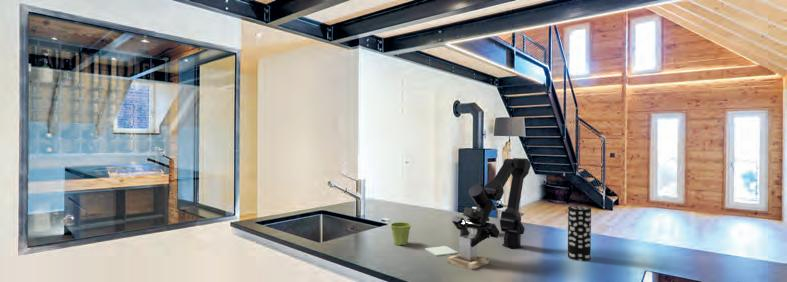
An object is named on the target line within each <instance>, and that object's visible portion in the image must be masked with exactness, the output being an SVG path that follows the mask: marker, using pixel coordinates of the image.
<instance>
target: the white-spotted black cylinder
mask: <svg viewBox="0 0 787 282" xmlns="http://www.w3.org/2000/svg"><path fill="white" fill-rule="evenodd" d="M591 236H592V208H591V207H588V206H583V205H582V206H580V205H570V206H568V208H567V258H568V259H570V260H573V261H580V262H589V261H591V253H592V252H591V251H592V249H591V248H592V247H591V245H592V244H591V243H592V242H591V241H592V239H591V238H592V237H591Z"/></svg>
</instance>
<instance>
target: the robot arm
mask: <svg viewBox="0 0 787 282" xmlns="http://www.w3.org/2000/svg"><path fill="white" fill-rule="evenodd" d="M531 164H532V163H531V161H530V160H529V159H528V158H524V157H522V158H521V157H513V158H505V159H504V160H503V163H502V166H501V167H500V169H499V170H498V171H497V173H496V175H495V177H494V178H493V179H492V180H490V181H489V182H487V183H486V184H485V185H483V183H481V182H477V183H476V185H473V186H472V187H471V186H470V188H469V189H468V195H469V196H470V197H471V199H472V200H473V203H474V204H475V205H477V206H476V207H477V208H476V209H473V208H472V207H468V206H467V207H466V206H465V207H464V210H463V214H462V216H464V217H467V218H466V220H467V221H466V220H465V219H464V217H460V216H454V217H453V219H452V223H453V225H454V227H456V229H457V230H459V232H460V233H459V234H460V235H459V237H460V236H463V235H470V233H471V232H470V231H469V228H470V229H472V228H473V229H477V233H476V235H475V237H474V239H473V241H472V244H471V246H472V247H474V246H475V245H477V246H478V244H480V243H481V242H482V241H484V240H486V239H490V237H491V238H494V239H497V238H498V237H499V235H500V230H501V232H502V233H503V232H504V235H503V243H501V245H502V246H504V247H506V248H509V249H512V250H513V249H519V248H523V247H524V246H523V245H521V242H522V241H521V237H522V236H521V235H524V233H525V231H526V230H525V229H526V228H525V227H524V225H523V223H522V217H521V214H520V211H519V209H520V203H521V198H522V191H523V184H524V179H525V178H526V177H527V176H528V175H529V173H530V169H531V166H532V165H531ZM510 177H512V178H511V183H510V189H509V195H508V200H507V205H506V209H505V210H502V211H501V215H500V218H499V224H500V225H499V226H500V230H499V229H498V227H497V225H496V223H492V222H490V220H491V219H490V218H489V217H490V216H491V213H492V211H496V210H497V207H496V205H495V203H494V202H500V201H501V200H502V198H503V195H504V192H505V191H504V187H505V185H506V184H507V181H508V180H509V179H510ZM493 201H494V202H493ZM468 221H469V222H468ZM486 221H487V222H486Z"/></svg>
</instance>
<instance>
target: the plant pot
mask: <svg viewBox="0 0 787 282" xmlns="http://www.w3.org/2000/svg"><path fill="white" fill-rule="evenodd" d="M389 224H390V228H391V231H392V238H393V244H394V245H396V246H401V245H402V246H406V245H408V243H409V238H410V236H409V235H410V230H411V227H412V224H411V223H409V222H405V221H404V222H403V221H397V222H392V223H389Z"/></svg>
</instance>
